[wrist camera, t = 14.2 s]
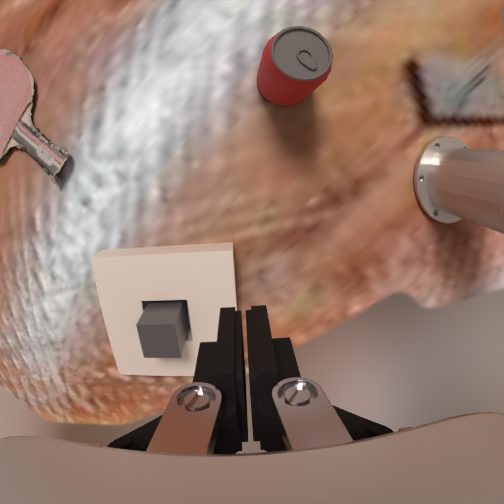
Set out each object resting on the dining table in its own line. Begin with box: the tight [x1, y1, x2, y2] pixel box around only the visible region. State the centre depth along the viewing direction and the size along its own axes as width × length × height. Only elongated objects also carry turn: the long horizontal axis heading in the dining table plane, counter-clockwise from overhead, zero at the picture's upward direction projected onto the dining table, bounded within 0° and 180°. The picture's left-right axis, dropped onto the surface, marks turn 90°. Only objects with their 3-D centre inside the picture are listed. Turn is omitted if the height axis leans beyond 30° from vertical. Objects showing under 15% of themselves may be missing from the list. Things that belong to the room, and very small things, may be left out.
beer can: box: [257, 26, 333, 106], centre depth 29 cm, size 7×7×12 cm
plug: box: [136, 300, 188, 358], centre depth 38 cm, size 5×5×8 cm
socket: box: [91, 242, 237, 376], centre depth 41 cm, size 18×18×4 cm
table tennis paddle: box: [0, 49, 70, 183], centre depth 32 cm, size 18×29×3 cm, turn 33°
